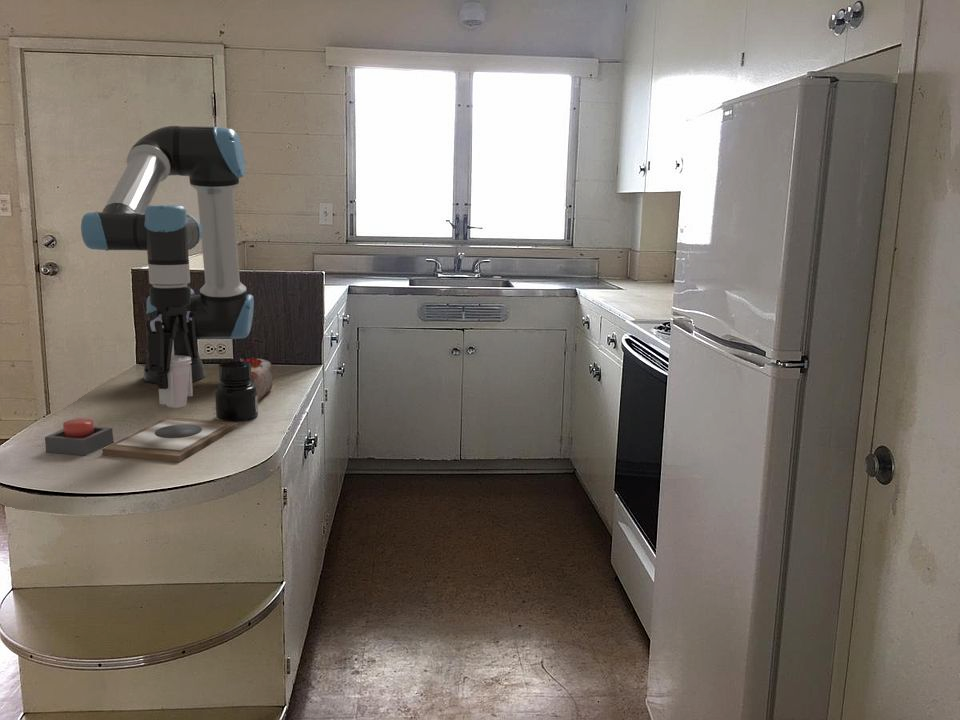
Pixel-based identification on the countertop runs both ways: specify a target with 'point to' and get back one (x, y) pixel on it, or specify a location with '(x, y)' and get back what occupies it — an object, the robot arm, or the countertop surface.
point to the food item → (260, 375)
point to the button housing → (79, 442)
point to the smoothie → (179, 378)
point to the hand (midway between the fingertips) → (176, 399)
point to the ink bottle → (236, 392)
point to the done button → (78, 428)
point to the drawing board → (170, 439)
